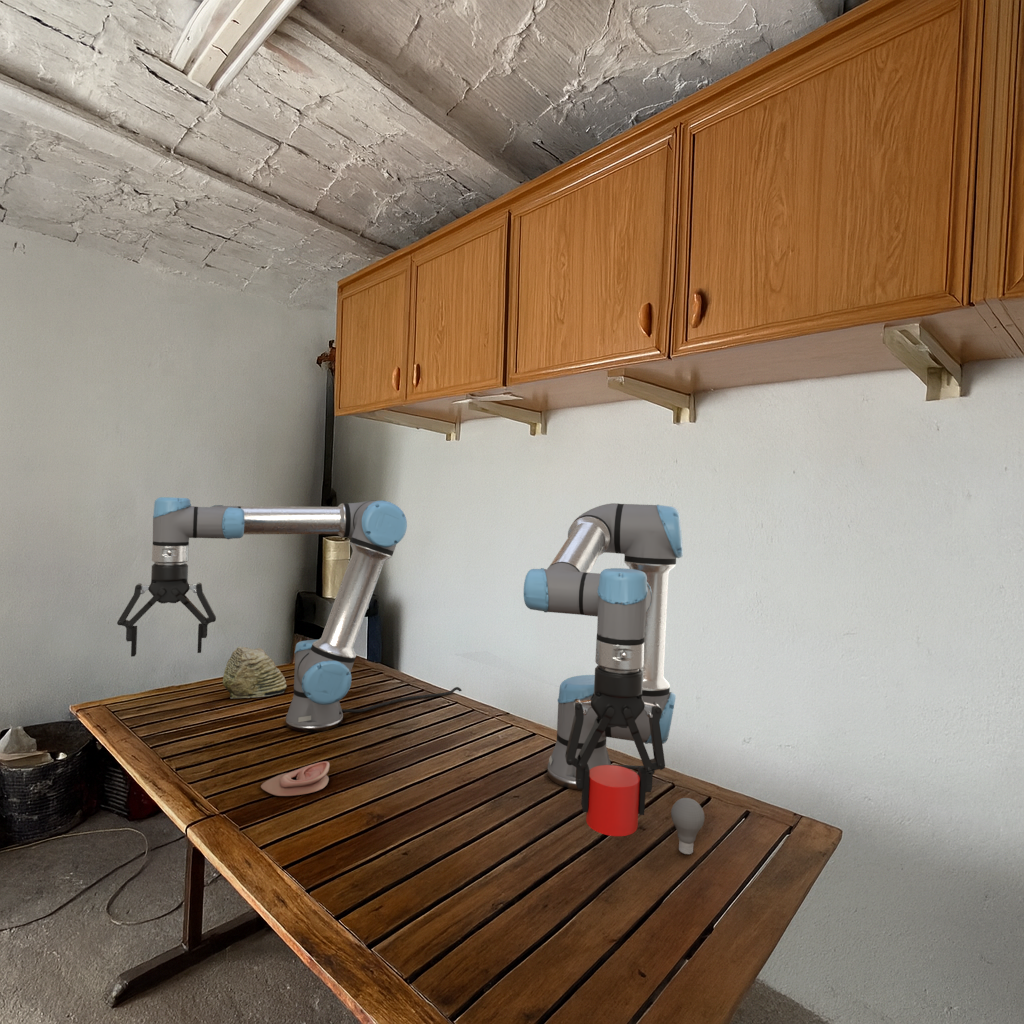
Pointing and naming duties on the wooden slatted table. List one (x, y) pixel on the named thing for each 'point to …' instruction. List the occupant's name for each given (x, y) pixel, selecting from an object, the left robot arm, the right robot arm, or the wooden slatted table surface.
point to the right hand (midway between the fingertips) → (612, 809)
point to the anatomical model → (299, 780)
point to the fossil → (252, 674)
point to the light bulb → (687, 822)
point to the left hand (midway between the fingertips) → (167, 653)
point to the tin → (613, 800)
